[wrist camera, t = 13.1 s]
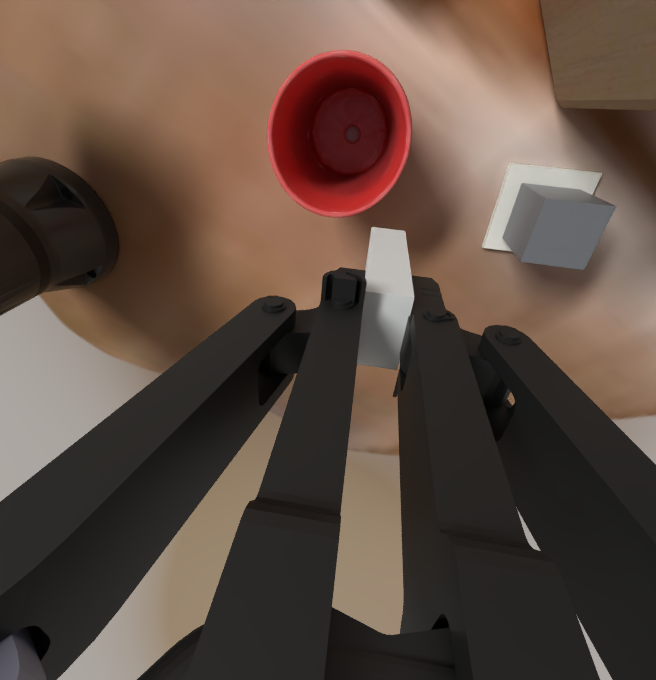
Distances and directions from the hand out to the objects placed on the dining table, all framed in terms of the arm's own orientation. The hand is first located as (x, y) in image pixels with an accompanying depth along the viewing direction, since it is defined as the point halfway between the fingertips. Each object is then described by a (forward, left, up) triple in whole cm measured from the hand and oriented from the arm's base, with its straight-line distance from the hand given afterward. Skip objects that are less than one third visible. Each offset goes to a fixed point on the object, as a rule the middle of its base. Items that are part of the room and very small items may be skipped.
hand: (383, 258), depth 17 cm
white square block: (+15, -2, -23) cm, 28 cm away
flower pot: (-4, +3, -24) cm, 24 cm away
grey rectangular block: (+15, -2, -22) cm, 27 cm away
